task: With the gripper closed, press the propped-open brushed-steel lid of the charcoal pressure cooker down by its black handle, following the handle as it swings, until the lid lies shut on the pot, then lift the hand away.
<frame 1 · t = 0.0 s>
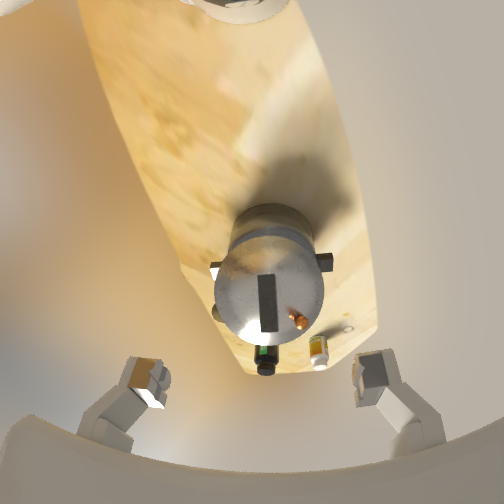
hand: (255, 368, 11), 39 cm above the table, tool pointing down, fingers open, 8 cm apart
supplement bottle 2: (317, 339, 80), on the table
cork: (229, 279, 64), on the table
supplement bottle: (267, 335, 79), on the table
cooker pot: (271, 238, 55), on the table
cooker lid: (268, 290, 39), point 18 cm above the table, hinge at 50.0°
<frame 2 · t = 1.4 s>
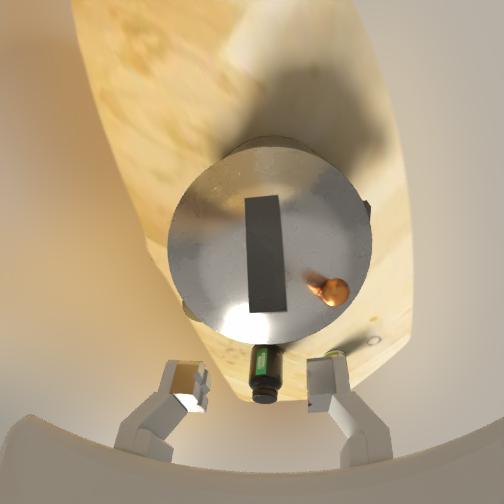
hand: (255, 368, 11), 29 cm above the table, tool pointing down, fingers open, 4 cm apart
supplement bottle 2: (333, 355, 59), on the table
supplement bottle: (266, 350, 58), on the table
cooker pot: (273, 193, 37), on the table
cooker lid: (265, 233, 21), point 18 cm above the table, hinge at 50.0°
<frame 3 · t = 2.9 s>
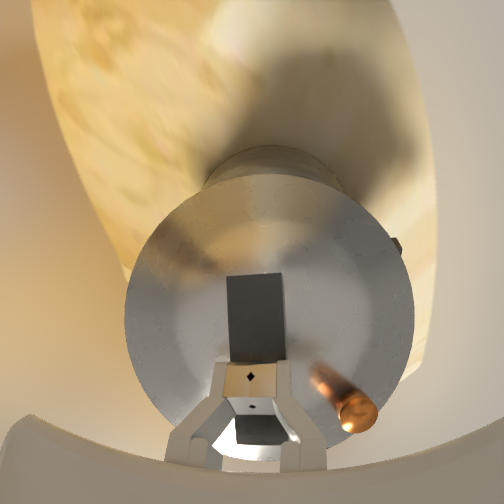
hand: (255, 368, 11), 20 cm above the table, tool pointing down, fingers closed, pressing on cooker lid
cooker pot: (272, 218, 30), on the table
cooker lid: (261, 323, 13), point 17 cm above the table, hinge at 48.2°, touching gripper
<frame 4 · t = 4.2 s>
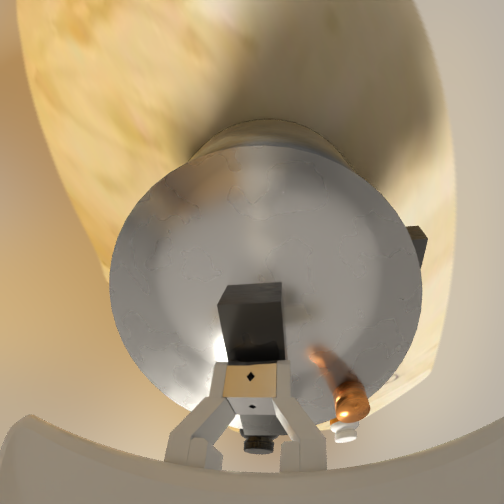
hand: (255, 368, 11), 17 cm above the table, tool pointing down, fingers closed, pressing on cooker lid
supplement bottle 2: (341, 394, 46), on the table
supplement bottle: (262, 391, 46), on the table
cooker pot: (268, 207, 25), on the table
cooker lid: (259, 329, 12), point 15 cm above the table, hinge at 20.3°, touching gripper
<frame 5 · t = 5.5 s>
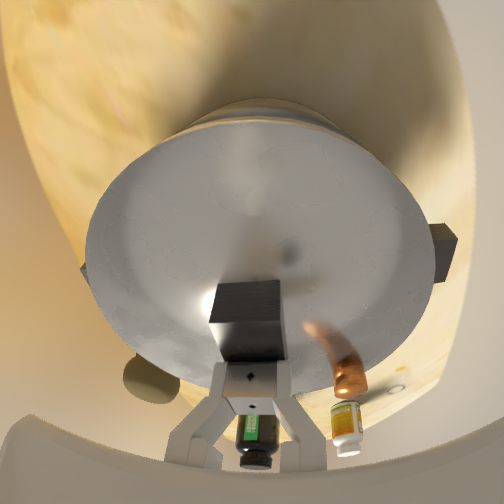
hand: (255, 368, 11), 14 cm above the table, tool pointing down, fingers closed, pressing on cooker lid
supplement bottle 2: (344, 405, 43), on the table
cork: (176, 306, 29), on the table
supplement bottle: (260, 403, 42), on the table
cooker pot: (264, 202, 21), on the table
cooker lid: (255, 323, 12), point 12 cm above the table, hinge at -0.3°, touching gripper
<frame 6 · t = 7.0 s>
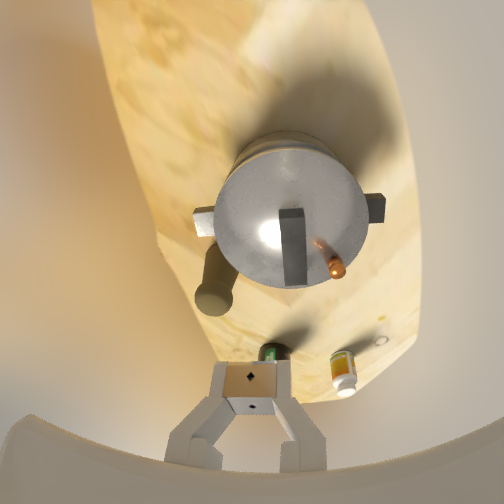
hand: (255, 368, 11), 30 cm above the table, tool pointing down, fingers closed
supplement bottle 2: (341, 356, 58), on the table
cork: (224, 258, 45), on the table
supplement bottle: (274, 350, 58), on the table
cooker pot: (287, 187, 37), on the table
cooker lid: (292, 229, 28), point 12 cm above the table, hinge at -0.4°
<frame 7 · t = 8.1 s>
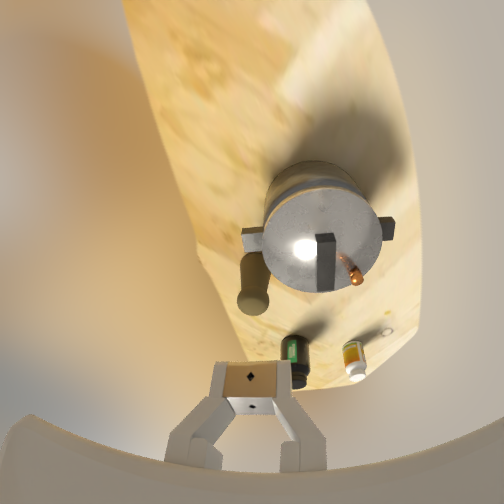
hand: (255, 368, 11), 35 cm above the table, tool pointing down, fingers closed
supplement bottle 2: (352, 345, 66), on the table
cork: (256, 265, 52), on the table
supplement bottle: (294, 342, 66), on the table
cooker pot: (313, 207, 44), on the table
cooker lid: (324, 248, 35), point 12 cm above the table, hinge at -0.4°
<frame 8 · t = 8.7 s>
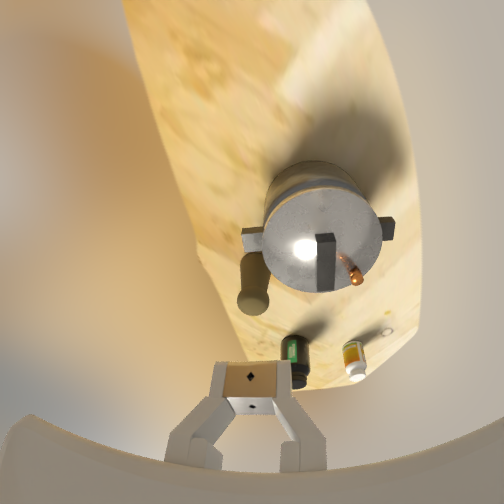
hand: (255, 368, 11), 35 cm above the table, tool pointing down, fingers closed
supplement bottle 2: (352, 345, 66), on the table
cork: (256, 265, 52), on the table
supplement bottle: (294, 342, 66), on the table
cooker pot: (313, 207, 44), on the table
cooker lid: (324, 248, 35), point 12 cm above the table, hinge at -0.4°
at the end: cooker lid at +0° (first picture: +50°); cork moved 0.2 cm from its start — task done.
